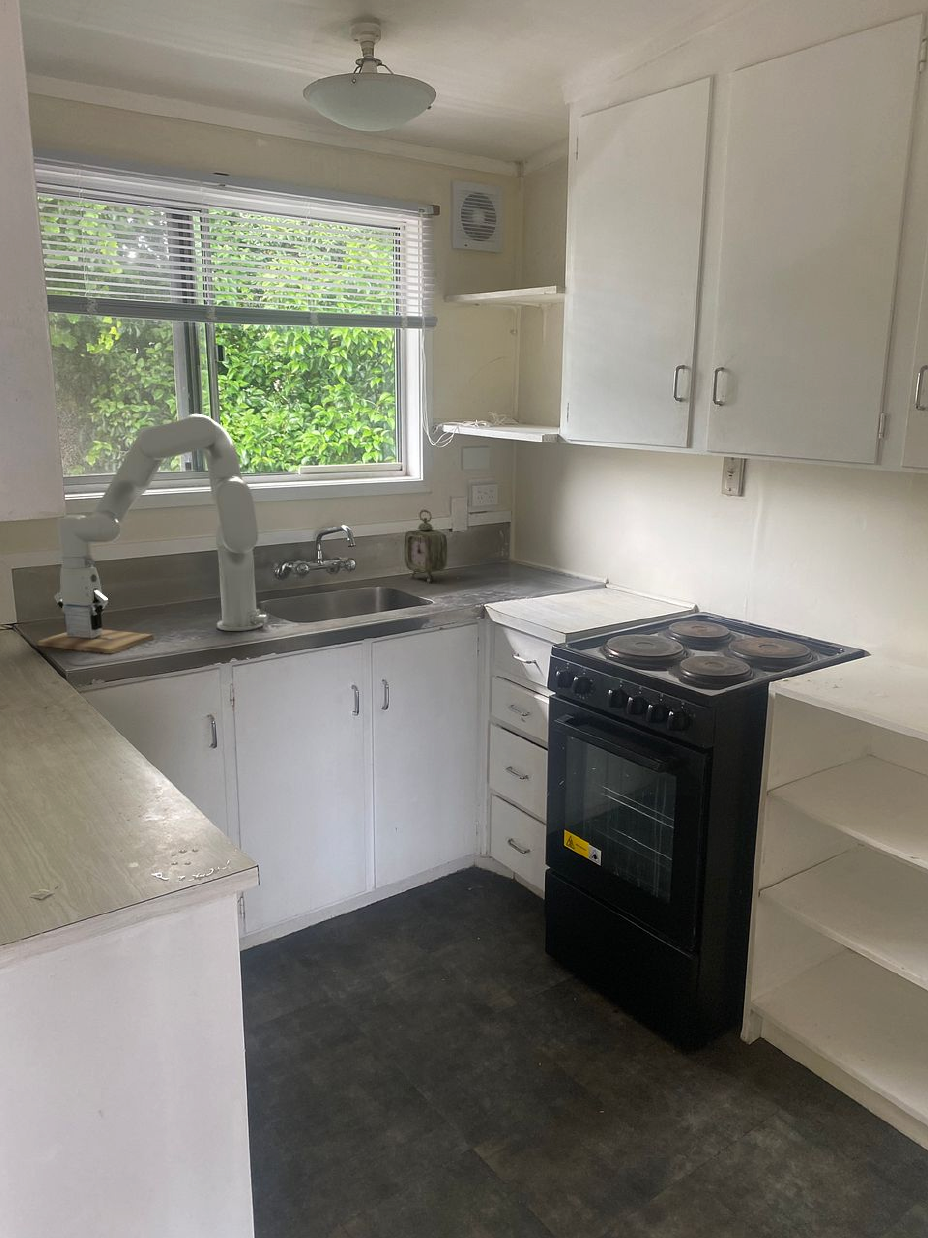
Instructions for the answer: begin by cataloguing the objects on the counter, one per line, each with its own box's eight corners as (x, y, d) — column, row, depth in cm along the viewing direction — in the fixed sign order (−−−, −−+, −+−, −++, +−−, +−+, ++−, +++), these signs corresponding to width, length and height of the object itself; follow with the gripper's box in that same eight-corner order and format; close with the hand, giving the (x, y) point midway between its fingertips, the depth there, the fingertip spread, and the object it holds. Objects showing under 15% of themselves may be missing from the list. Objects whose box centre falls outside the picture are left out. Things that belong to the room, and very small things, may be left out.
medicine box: (102, 635, 247) (99, 603, 245) (91, 639, 243) (88, 607, 241) (78, 633, 249) (74, 601, 247) (66, 637, 245) (63, 605, 243)
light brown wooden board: (153, 638, 249) (153, 634, 248) (112, 653, 234) (112, 649, 234) (81, 631, 257) (81, 627, 256) (37, 645, 242) (37, 640, 242)
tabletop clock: (404, 578, 332) (403, 508, 327) (425, 575, 338) (424, 507, 332) (428, 584, 321) (427, 512, 315) (449, 581, 327) (448, 510, 321)
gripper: (114, 562, 242) (120, 626, 246) (61, 558, 248) (67, 622, 252) (94, 566, 235) (100, 633, 239) (40, 563, 241) (47, 628, 245)
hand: (83, 627), depth 246 cm, fingers closed on medicine box, 8 cm apart
